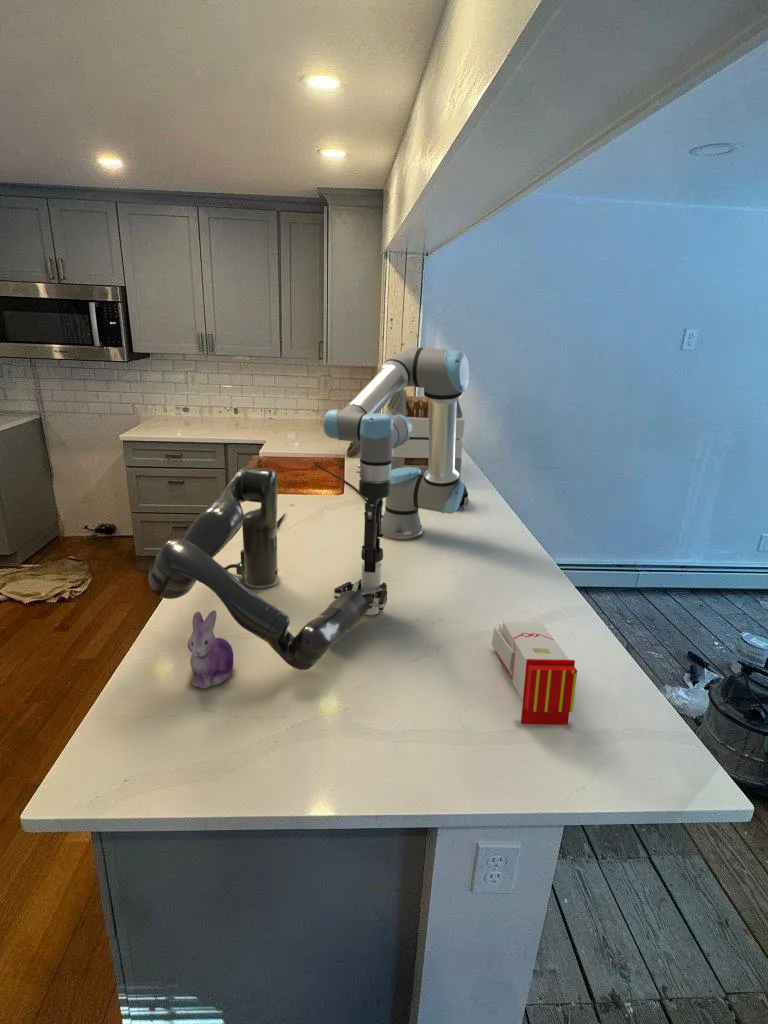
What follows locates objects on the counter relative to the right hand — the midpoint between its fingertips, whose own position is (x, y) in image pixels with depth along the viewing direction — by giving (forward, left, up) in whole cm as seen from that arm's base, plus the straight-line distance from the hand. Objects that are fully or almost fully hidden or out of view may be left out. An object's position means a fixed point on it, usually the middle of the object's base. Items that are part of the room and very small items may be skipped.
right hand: (371, 566), depth 144 cm
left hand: (-1, +2, -6) cm, 6 cm away
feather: (-72, +18, -13) cm, 75 cm away
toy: (+44, +8, -13) cm, 46 cm away
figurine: (+2, -44, -13) cm, 46 cm away
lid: (0, 0, +4) cm, 4 cm away
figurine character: (-44, +83, -13) cm, 94 cm away
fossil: (-134, +102, -13) cm, 169 cm away
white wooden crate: (-88, +103, -13) cm, 136 cm away
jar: (0, 0, -13) cm, 13 cm away
